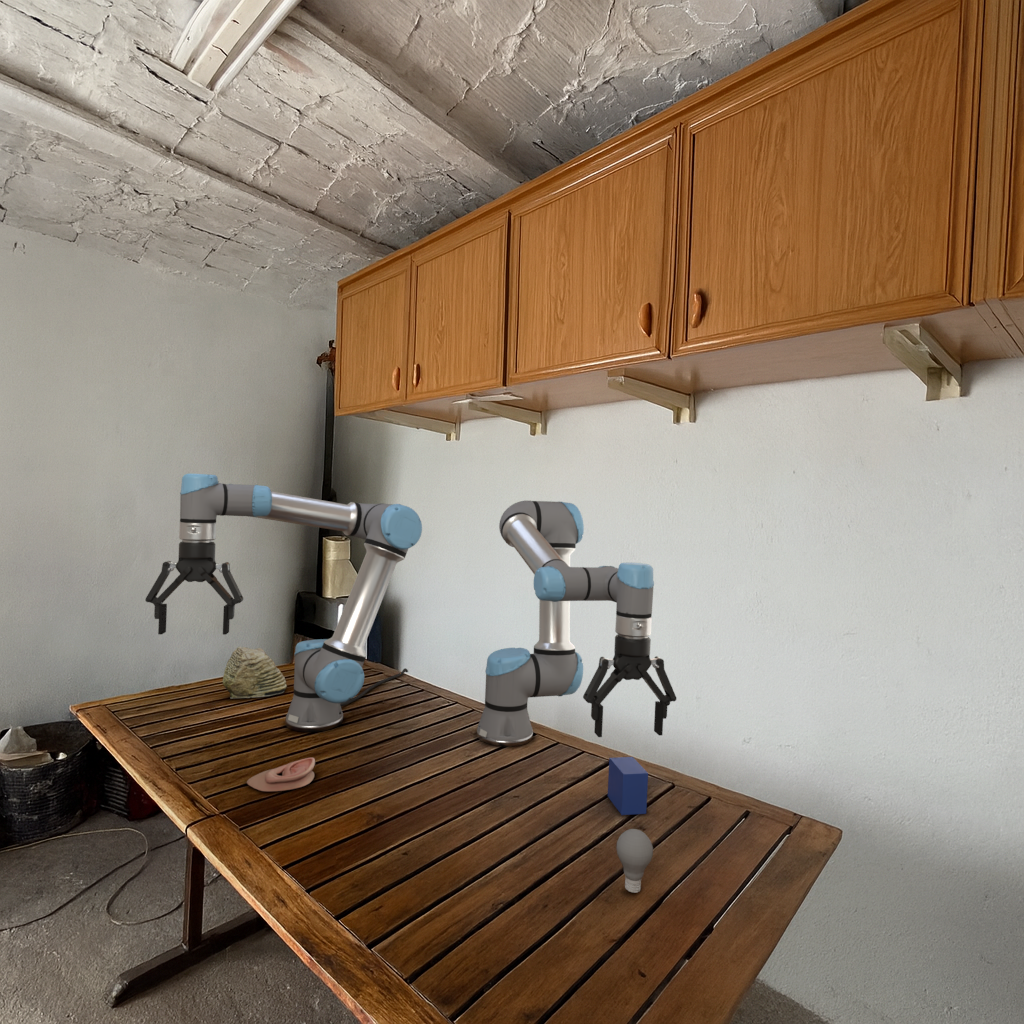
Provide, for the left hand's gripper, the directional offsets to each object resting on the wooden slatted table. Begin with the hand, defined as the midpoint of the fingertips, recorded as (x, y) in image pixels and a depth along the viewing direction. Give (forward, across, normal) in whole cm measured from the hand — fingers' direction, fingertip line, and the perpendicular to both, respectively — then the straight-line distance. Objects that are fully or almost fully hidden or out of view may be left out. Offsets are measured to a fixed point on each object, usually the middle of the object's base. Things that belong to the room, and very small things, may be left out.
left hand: (194, 633), depth 146 cm
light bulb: (+31, +85, -58) cm, 107 cm away
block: (+31, +95, -29) cm, 104 cm away
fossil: (+31, +4, +52) cm, 61 cm away
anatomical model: (+31, +22, -11) cm, 39 cm away
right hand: (+15, +95, -29) cm, 100 cm away
